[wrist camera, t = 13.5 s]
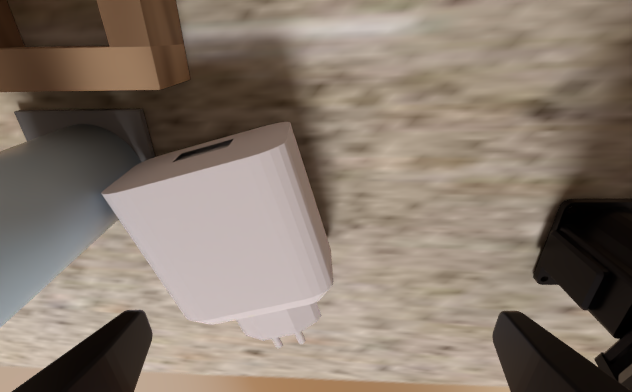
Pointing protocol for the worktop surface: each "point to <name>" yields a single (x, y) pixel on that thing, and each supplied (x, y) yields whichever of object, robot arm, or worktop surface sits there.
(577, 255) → the robot arm
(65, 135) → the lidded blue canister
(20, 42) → the block
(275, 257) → the charger
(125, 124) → the rubber mat
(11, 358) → the worktop surface
